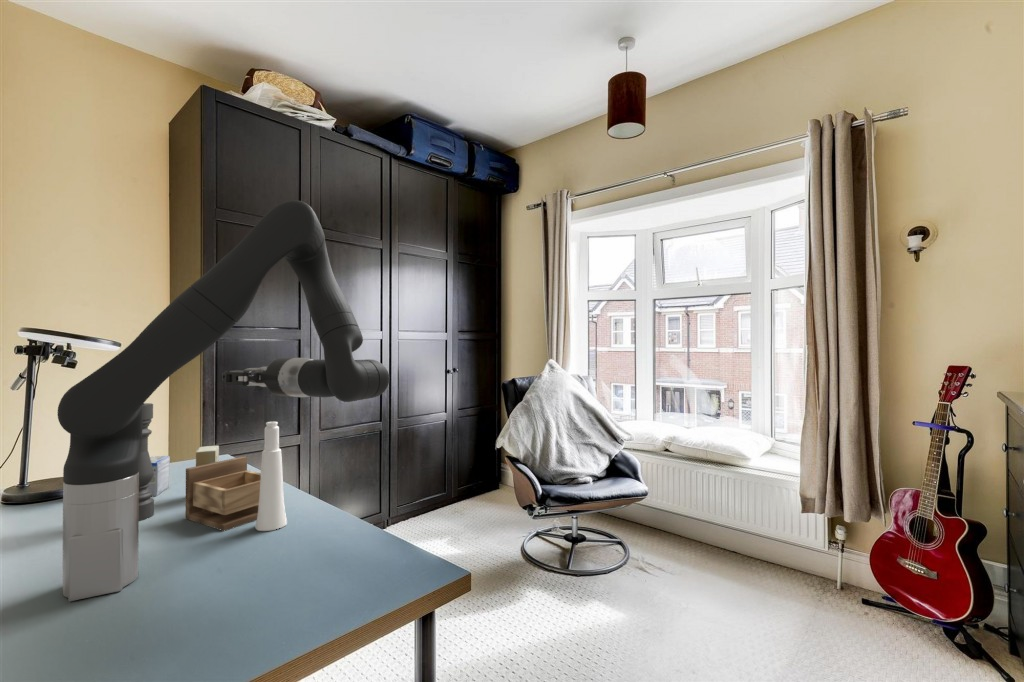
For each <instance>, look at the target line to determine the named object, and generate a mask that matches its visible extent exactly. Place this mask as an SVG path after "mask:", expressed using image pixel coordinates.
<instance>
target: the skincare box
mask: <svg viewBox="0 0 1024 682" xmlns="http://www.w3.org/2000/svg"><path fill="white" fill-rule="evenodd" d="M219 461H220V445H207V446H206V445H205V446H199V448H197V449H196V452H195V467H196V466H200V465H205V464H210V463H215V462H219Z"/></svg>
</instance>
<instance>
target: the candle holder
mask: <svg viewBox="0 0 1024 682" xmlns="http://www.w3.org/2000/svg"><path fill="white" fill-rule="evenodd" d="M142 405H143V418H142V449H141V455H140V461H139V522H141V521H144V520H148V519H150V518H152V517H153V516H154V515H155V500H154V497H151V496H152V495H153V493H152V492H151V491H150V490H149V489H148V486H149V482H150V481H151V480H152V478H153V476H154V470H153V466H152V463H151V460H150V457H151V456H150V453H149V446H148V445H149V437H150V436H151V435H152V432H153V431H152V430H151V429H149V426H150V425H151V423H152V419H153V418H154V404H153V403H152V402H151V403H150V402H149V403H147V402H144V403H143V404H142ZM147 518H148V519H147Z"/></svg>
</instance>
